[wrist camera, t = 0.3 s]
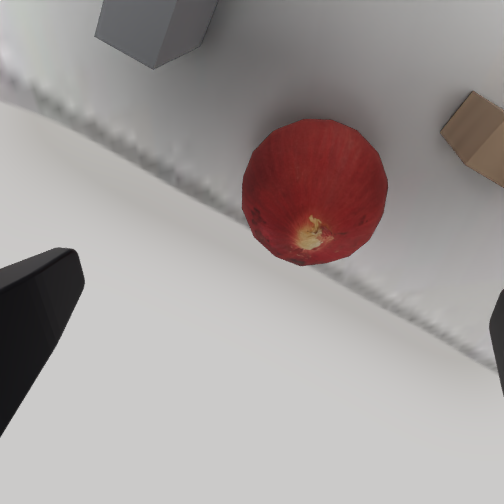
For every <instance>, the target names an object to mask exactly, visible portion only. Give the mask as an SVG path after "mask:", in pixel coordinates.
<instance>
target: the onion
mask: <svg viewBox="0 0 504 504" xmlns="http://www.w3.org/2000/svg"><path fill="white" fill-rule="evenodd" d="M387 190H388V182H387V177H386V174H385V171H384V168H383V165H382V162H381V159H380V156H379V154H378V152H377V151H376V150H375V149H374V148H373V146H372V145H371V144H370V143H369V142H368V141H367V140H366V139H365V138H364V137H363V136H362V135H361V134H360V133H359V132H358V131H357V130H355V129H353V128H350V127H348V126H346V125H343V124H341V123H338V122H336V121H334V120H323V119H303V120H300V121H297V122H294V123H292V124H289V125H286V126H284V127H281V128H278V129H276V130H274V131H273V132H272V133H271V134H270V135H269V136H268V137H267V138H266V139H265V140H264V141H263V142H262V143H261V144H260V145H259V146H258V147H257V148H256V149H255V150H254V151H253V153H252V156H251V158H250V161H249V163H248V166H247V168H246V171H245V173H244V176H243V183H242V210H243V212H244V214H245V217H246V219H247V221H248V224H249V226H250V228H251V231H252V233H253V236H254V237H255V238H256V239H257V240H258V241H259V242H260V243H261V244H262V245H263V246H264V247H266V248H267V249H268V250H269V251H270V252H271V253H272V254H273V255H274V256H276V257H278V258H280V259H283V260H286V261H288V262H291V263H294V264H296V265H299V266H306V265H315V264H323V263H328V262H332V261H335V260H338V259H342V258H345V257H349V256H350V255H351V254H353V253H354V252H355V251H356V250H358V249H359V248H360V247H361V246H363V245H364V244H365V243H366V242H367V241H368V240H369V239H370V238H371V236H372V234H373V232H374V231H375V229H376V227H377V225H378V223H379V221H380V220H381V217H382V215H383V213H384V207H385V201H386V196H387Z"/></svg>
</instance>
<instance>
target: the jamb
mask: <svg viewBox="0 0 504 504" xmlns="http://www.w3.org/2000/svg"><path fill="white" fill-rule="evenodd" d="M217 2H218V0H104V1H103V5H102V9H101V13H100V17H99V21H98V24H97V28H96V32H95V36H94V37H96V38H98V39H100V40H102V41H103V42H105V43H107V44H109V45H110V46H112V47H114V48H116V49H118V50H119V51H121V52H123V53H125V54H126V55H128V56H130V57H132V58H134V59H135V60H137V61H139V62H141V63H142V64H144V65H146V66H148V67H150V68H151V69H155V68H157V67H159V66H161V65H163V64H165V63H168V62H170V61H172V60H174V59H176V58H178V57H180V56H182V55H184V54H186V53H188V52H190V51H192V50H194V49H196V48H198V47H200V45H201V43H202V40H203V38H204V35H205V33H206V30H207V28H208V25H209V23H210V20H211V18H212V15H213V13H214V10H215V8H216V5H217Z"/></svg>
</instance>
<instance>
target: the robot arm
mask: <svg viewBox="0 0 504 504" xmlns="http://www.w3.org/2000/svg"><path fill="white" fill-rule="evenodd" d="M84 284H85V280H84V275H83V271H82V267H81V264H80V260H79V256H78V253H77V252H76V251H75V250H74V249H70V248H54V249H51V250H48V251H46V252H43V253H41V254H38V255H35V256H33V257H30V258H28V259H25V260H22V261H20V262H17V263H14V264H12V265H9V266H6V267H4V268H1V269H0V437H1V435H2V434H3V432H4V430H5V429H6V427H7V425H8V424H9V422H10V421H11V419H12V417H13V416H14V414H15V413H16V411H17V409H18V407H19V406H20V404H21V403H22V401H23V400H24V398H25V396H26V395H27V393H28V391H29V390H30V388H31V386H32V385H33V383H34V381H35V380H36V378H37V377H38V375H39V373H40V372H41V370H42V368H43V366H44V365H45V364H46V362H47V360H48V359H49V357H50V355H51V354H52V352H53V350H54V349H55V347H56V345H57V343H58V341H59V339H60V337H61V336H62V333H63V331H64V329H65V327H66V325H67V323H68V321H69V319H70V316H71V314H72V312H73V310H74V308H75V306H76V304H77V302H78V300H79V297H80V295H81V293H82V291H83V289H84ZM489 330H490V336H491V340H492V345H493V350H494V354H495V359H496V364H497V369H498V373H499V378H500V383H501V387H502V391H503V395H504V289H503V290H502V291H501V293H500V295H499V298H498V300H497V303H496V305H495V308H494V311H493V313H492V316H491V318H490V323H489Z"/></svg>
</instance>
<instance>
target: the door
mask: <svg viewBox="0 0 504 504" xmlns="http://www.w3.org/2000/svg"><path fill="white" fill-rule="evenodd" d="M440 133H441V134H442V136H443V137H444V138H445V140H446V141H447V142H448V144H449V145H450V146H451V147H452V149H453V150H454V151H455V153H456V154H457V155H458V156H459V158H460V159H461V160H462V162H463V163H464V164H465V165H466V166H468V167H470V168H471V169H473V170H475V171H476V172H478V173H480V174H481V175H483V176H485V177H486V178H488V179H490V180H491V181H493V182H495V183H496V184H498V185H500V186H501V187H503V188H504V110H503V109H501V108H500V107H498V106H496V105H495V104H493V103H492V102H490V101H489V100H487V99H485V98H484V97H482V96H481V95H479V94H477V93H476V92H474V91H472V93H471V94H470V95H469V96H468V98H467V99H466V100H465V101H464V103H463V104H462V105H461V106H460V108H459V109H458V110H457V112H456V113H455V114H454V115H453V117H452V118H451V119H450V120H449V122H448V123H447V124H446V125H445V127H444V128H443V129H442V130H441V132H440Z"/></svg>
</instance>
